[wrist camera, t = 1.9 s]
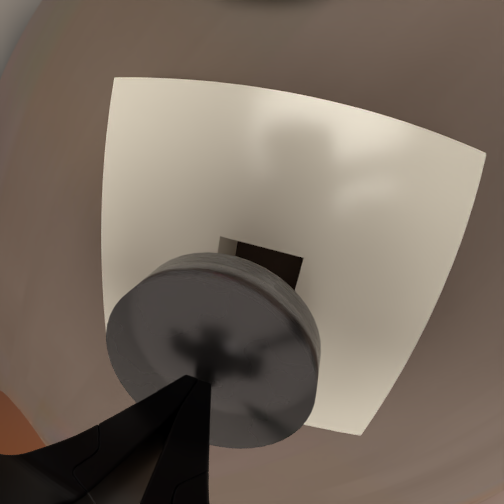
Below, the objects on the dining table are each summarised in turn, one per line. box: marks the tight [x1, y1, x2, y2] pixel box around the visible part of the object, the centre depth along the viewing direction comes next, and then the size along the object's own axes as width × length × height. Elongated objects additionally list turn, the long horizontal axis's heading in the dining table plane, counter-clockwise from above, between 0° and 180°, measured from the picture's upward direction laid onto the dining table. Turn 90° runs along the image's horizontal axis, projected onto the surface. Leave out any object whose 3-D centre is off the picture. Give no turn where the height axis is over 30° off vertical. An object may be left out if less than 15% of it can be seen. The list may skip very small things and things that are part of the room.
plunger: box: [106, 252, 321, 449], centre depth 12 cm, size 7×7×6 cm
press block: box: [101, 77, 486, 435], centre depth 18 cm, size 18×18×4 cm
